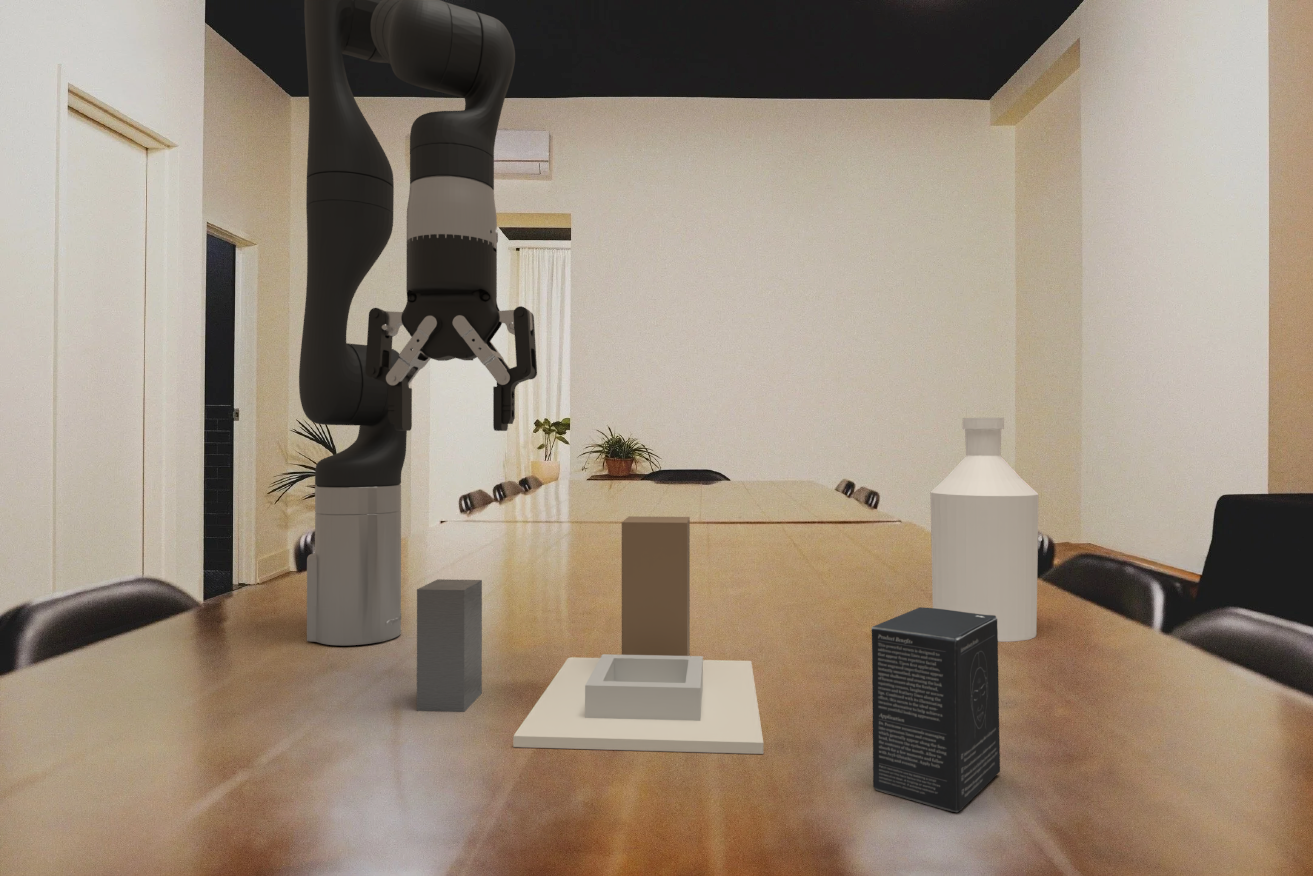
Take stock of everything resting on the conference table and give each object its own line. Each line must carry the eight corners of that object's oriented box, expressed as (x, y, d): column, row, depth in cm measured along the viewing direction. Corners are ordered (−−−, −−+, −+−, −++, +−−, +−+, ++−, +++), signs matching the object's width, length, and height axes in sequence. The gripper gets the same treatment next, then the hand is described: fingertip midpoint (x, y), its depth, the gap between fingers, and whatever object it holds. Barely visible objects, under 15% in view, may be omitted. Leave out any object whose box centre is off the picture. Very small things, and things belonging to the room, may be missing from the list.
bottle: (1006, 647, 89) (1005, 415, 89) (910, 628, 98) (910, 418, 98) (1058, 631, 96) (1057, 418, 96) (964, 615, 105) (964, 420, 106)
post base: (513, 747, 60) (513, 542, 60) (568, 665, 82) (568, 516, 82) (763, 754, 58) (763, 544, 58) (751, 669, 80) (751, 517, 80)
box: (919, 754, 58) (918, 605, 58) (1001, 775, 55) (1001, 616, 55) (869, 790, 52) (869, 623, 52) (958, 816, 49) (958, 636, 49)
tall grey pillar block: (416, 710, 68) (416, 589, 68) (437, 692, 73) (437, 579, 73) (464, 711, 68) (464, 589, 68) (481, 693, 72) (481, 579, 73)
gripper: (352, 231, 67) (351, 430, 67) (524, 228, 66) (523, 430, 66) (388, 253, 75) (388, 431, 75) (543, 250, 74) (543, 431, 74)
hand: (452, 430), depth 70 cm, fingers open, 8 cm apart
